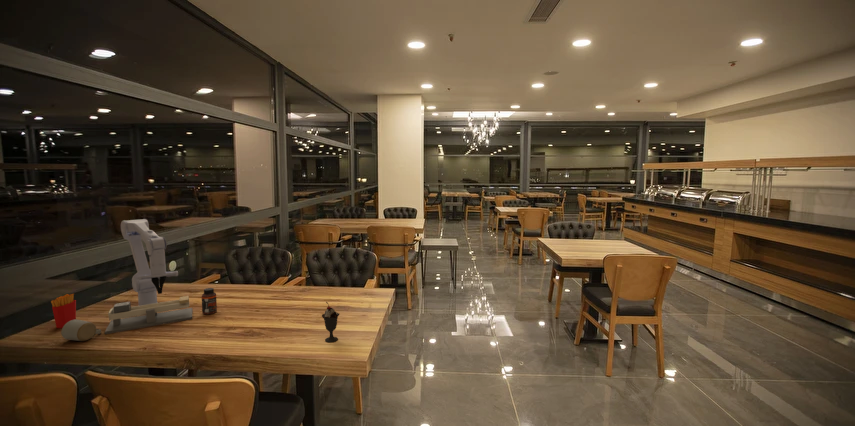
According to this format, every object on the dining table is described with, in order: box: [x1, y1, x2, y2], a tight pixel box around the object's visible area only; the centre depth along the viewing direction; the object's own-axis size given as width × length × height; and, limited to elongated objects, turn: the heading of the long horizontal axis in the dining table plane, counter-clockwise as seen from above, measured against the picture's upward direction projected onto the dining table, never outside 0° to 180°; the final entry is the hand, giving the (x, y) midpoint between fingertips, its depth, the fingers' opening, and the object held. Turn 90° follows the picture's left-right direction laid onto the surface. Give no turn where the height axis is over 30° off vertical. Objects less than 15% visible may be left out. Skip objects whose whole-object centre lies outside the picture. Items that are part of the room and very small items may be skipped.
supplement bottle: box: [201, 287, 218, 315], centre depth 174 cm, size 6×6×11 cm
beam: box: [108, 295, 190, 321], centre depth 164 cm, size 7×28×4 cm, turn 122°
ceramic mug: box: [61, 318, 102, 342], centre depth 147 cm, size 11×8×8 cm
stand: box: [104, 303, 193, 335], centre depth 164 cm, size 14×30×6 cm, turn 122°
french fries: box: [50, 293, 77, 329], centre depth 159 cm, size 9×4×13 cm, turn 2°
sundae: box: [321, 301, 340, 343], centre depth 144 cm, size 7×7×15 cm
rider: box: [113, 301, 132, 314], centre depth 158 cm, size 4×5×4 cm
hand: (160, 293), depth 170 cm, fingers closed
